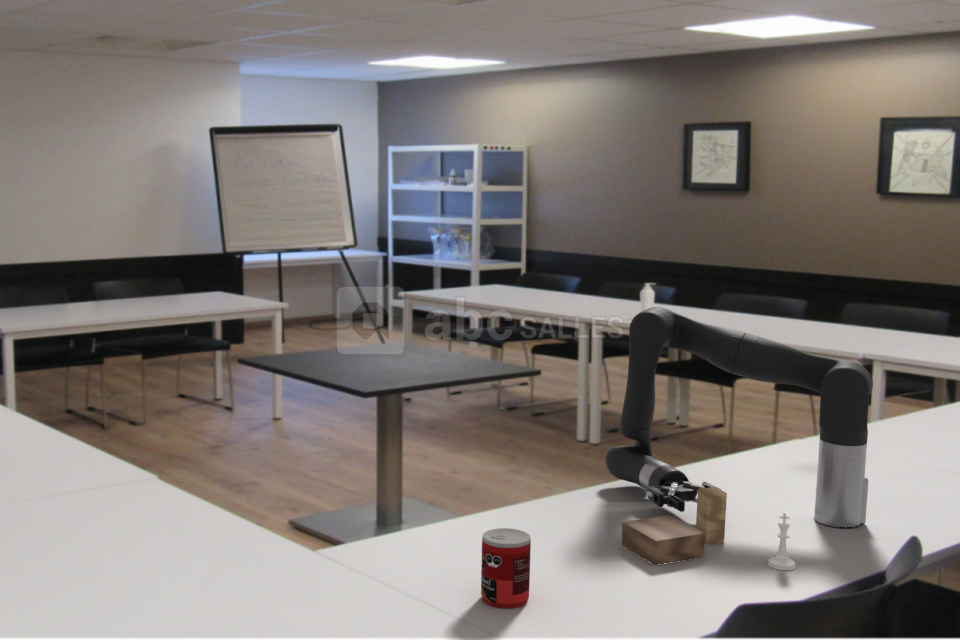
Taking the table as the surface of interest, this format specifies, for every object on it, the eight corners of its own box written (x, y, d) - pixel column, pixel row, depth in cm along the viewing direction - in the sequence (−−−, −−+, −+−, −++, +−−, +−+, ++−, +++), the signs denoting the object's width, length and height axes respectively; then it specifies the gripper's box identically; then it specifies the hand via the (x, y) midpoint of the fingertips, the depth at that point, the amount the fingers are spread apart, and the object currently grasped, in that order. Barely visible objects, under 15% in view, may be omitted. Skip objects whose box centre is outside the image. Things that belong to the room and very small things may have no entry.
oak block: (713, 535, 196) (715, 487, 195) (724, 542, 193) (726, 493, 191) (695, 537, 195) (697, 488, 194) (706, 544, 191) (708, 494, 190)
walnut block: (668, 539, 195) (669, 515, 194) (703, 558, 185) (705, 533, 184) (621, 547, 190) (622, 522, 189) (655, 567, 180) (656, 541, 180)
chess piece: (796, 571, 179) (800, 518, 177) (768, 569, 180) (771, 515, 178) (794, 561, 184) (797, 509, 182) (766, 559, 185) (769, 507, 183)
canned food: (478, 590, 168) (480, 528, 166) (525, 589, 168) (527, 527, 167) (482, 609, 160) (484, 544, 159) (532, 609, 161) (533, 543, 159)
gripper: (633, 466, 209) (671, 489, 194) (693, 462, 213) (735, 484, 198) (632, 501, 210) (669, 526, 195) (692, 496, 214) (733, 520, 199)
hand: (702, 505), depth 196 cm, fingers open, 8 cm apart
